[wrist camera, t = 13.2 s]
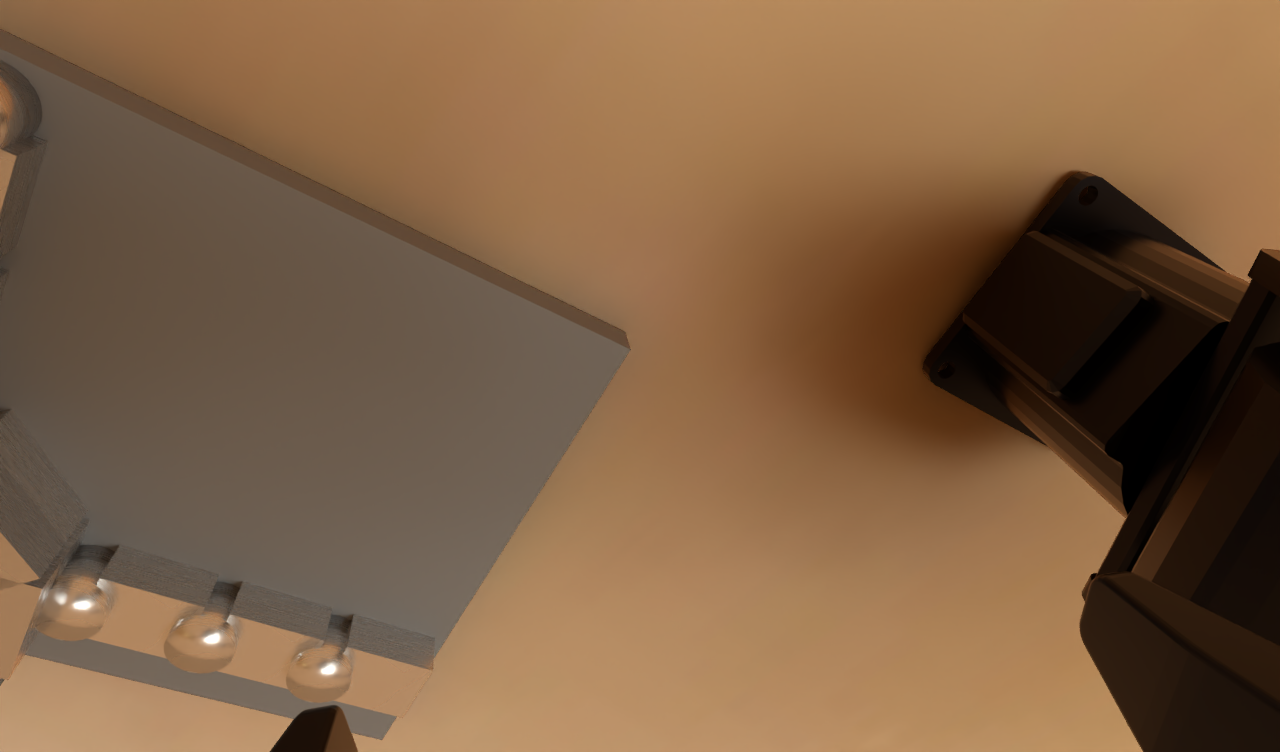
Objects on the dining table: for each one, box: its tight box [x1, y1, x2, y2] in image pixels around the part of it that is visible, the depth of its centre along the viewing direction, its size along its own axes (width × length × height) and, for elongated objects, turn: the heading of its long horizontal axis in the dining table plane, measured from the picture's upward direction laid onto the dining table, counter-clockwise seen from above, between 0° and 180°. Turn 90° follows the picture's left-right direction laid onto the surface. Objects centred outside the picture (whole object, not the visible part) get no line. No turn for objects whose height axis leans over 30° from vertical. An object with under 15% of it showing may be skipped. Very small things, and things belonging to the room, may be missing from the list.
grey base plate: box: [0, 29, 631, 740], centre depth 20 cm, size 17×15×1 cm
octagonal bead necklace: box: [0, 60, 435, 718], centre depth 18 cm, size 17×15×2 cm
